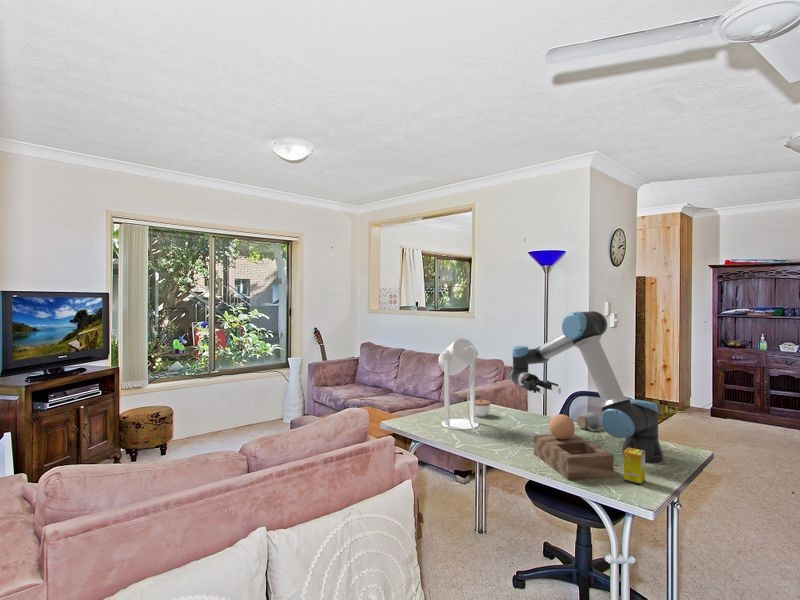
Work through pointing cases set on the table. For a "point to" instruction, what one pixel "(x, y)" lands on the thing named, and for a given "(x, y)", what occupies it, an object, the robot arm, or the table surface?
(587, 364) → the robot arm
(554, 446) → the walnut stand
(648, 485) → the table surface
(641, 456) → the supplement box
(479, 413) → the lidded jar
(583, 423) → the ceramic mug
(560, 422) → the ball
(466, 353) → the desk lamp
